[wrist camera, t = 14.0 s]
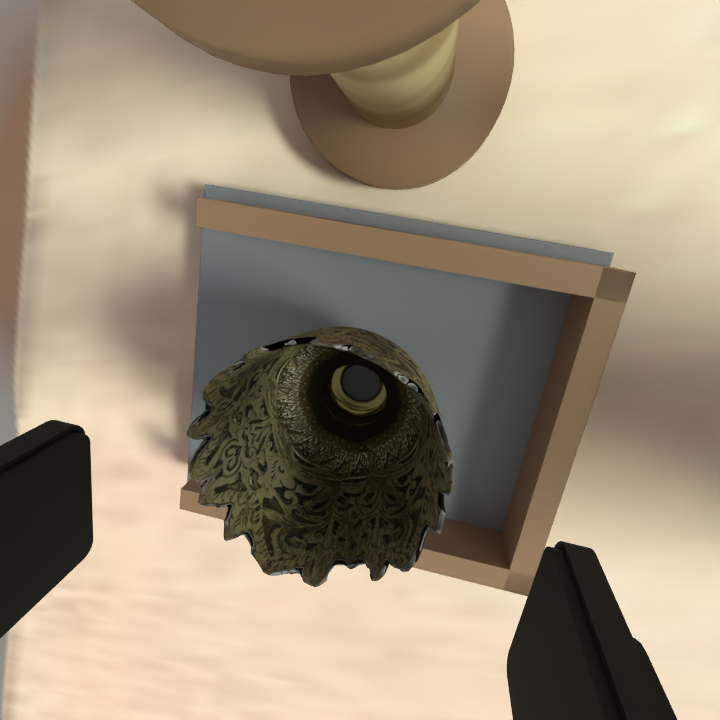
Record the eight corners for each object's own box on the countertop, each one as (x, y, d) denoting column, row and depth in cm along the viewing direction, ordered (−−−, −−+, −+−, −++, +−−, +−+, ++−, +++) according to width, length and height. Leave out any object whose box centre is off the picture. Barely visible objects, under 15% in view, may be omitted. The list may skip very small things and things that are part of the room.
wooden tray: (221, 187, 20) (171, 178, 17) (600, 251, 19) (641, 257, 15) (201, 468, 25) (158, 513, 21) (511, 542, 23) (525, 606, 19)
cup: (295, 464, 22) (217, 592, 14) (262, 308, 20) (153, 360, 12) (458, 454, 20) (467, 591, 13) (439, 285, 19) (437, 326, 11)
